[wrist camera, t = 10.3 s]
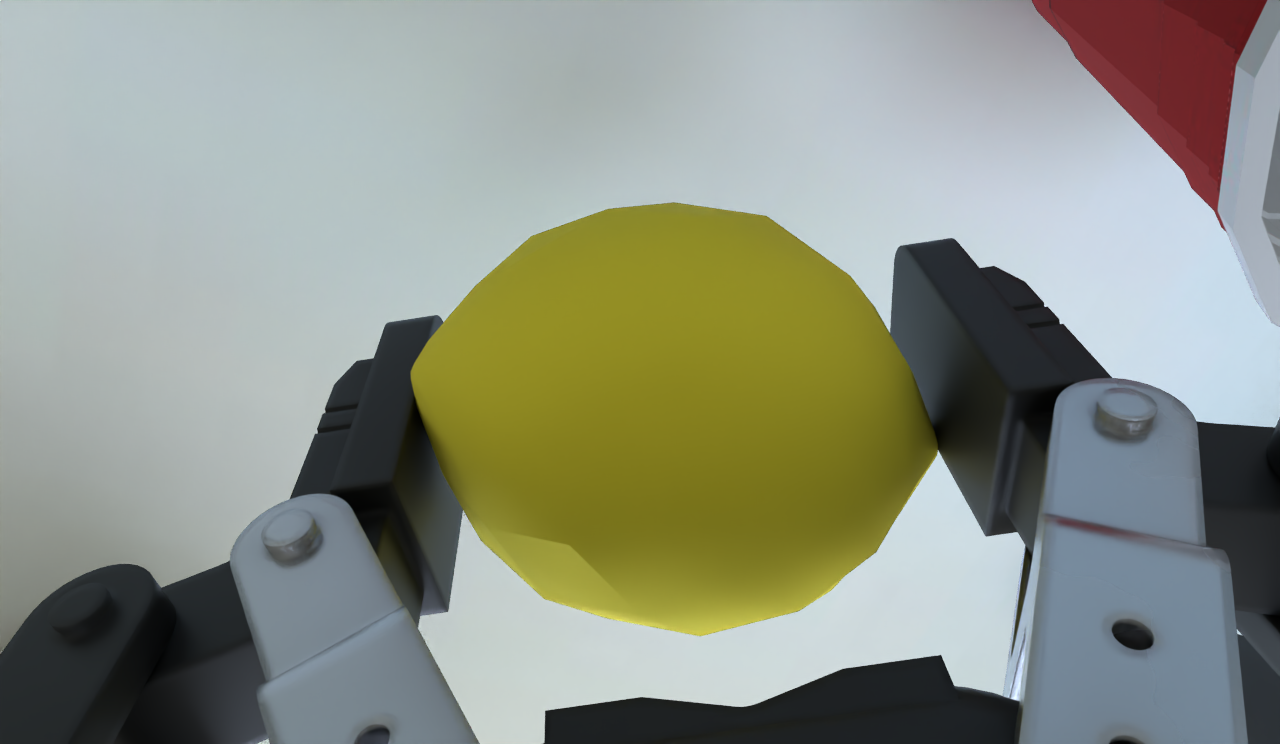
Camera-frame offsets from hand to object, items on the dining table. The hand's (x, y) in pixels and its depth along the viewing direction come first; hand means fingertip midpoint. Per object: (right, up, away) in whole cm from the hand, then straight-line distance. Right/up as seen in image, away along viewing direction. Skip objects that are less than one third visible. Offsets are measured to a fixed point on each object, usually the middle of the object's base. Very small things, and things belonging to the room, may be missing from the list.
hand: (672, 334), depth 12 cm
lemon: (0, +1, +1) cm, 1 cm away
